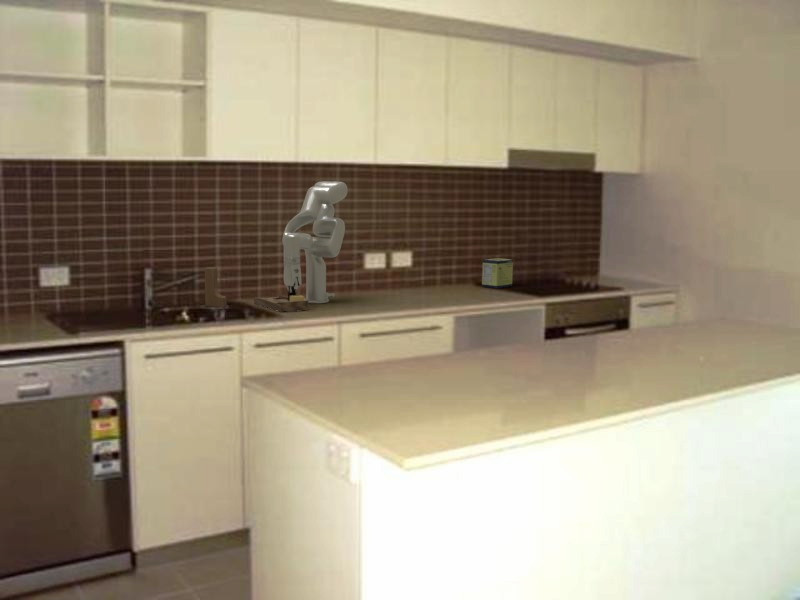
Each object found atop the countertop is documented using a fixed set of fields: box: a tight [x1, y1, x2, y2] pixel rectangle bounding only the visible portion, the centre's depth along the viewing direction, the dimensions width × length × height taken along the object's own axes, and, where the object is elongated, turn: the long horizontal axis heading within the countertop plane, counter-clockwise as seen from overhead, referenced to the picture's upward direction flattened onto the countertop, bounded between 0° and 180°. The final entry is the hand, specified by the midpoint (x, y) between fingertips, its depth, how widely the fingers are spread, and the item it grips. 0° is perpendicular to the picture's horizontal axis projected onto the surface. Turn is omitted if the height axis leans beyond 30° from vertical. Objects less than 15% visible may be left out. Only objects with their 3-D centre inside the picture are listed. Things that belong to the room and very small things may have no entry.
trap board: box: [253, 294, 309, 313], centre depth 411 cm, size 14×30×4 cm, turn 33°
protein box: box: [481, 257, 514, 289], centre depth 498 cm, size 10×16×16 cm
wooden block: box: [204, 266, 228, 308], centre depth 408 cm, size 9×4×18 cm, turn 81°
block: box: [290, 294, 305, 302], centre depth 403 cm, size 5×5×4 cm
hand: (291, 300), depth 406 cm, fingers closed
